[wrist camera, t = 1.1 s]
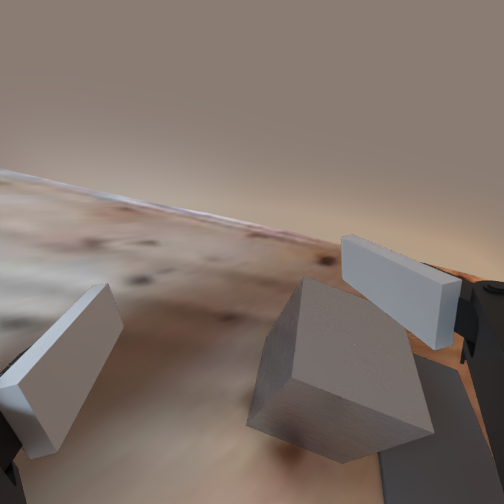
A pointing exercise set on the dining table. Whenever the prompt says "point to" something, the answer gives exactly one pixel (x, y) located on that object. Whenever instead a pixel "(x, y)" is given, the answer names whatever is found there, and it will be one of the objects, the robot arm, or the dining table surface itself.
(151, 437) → the dining table surface
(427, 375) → the charcoal mat
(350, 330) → the steel cover
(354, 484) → the dining table surface
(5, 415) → the robot arm
